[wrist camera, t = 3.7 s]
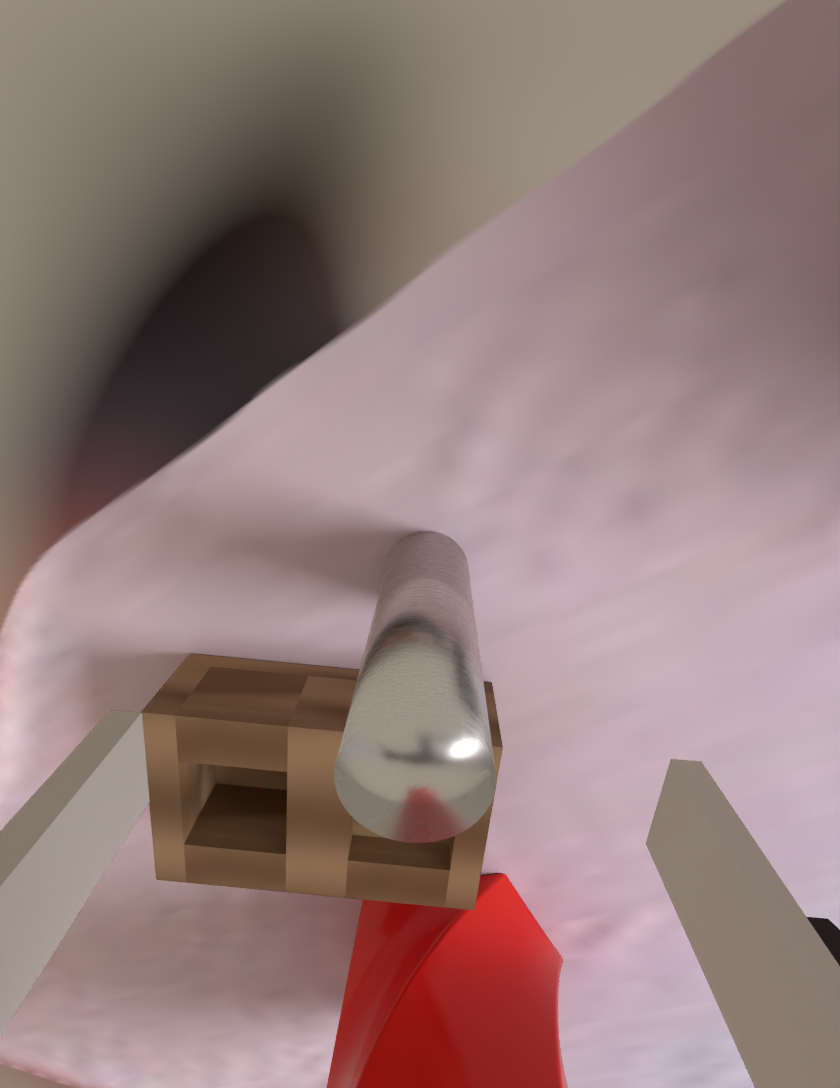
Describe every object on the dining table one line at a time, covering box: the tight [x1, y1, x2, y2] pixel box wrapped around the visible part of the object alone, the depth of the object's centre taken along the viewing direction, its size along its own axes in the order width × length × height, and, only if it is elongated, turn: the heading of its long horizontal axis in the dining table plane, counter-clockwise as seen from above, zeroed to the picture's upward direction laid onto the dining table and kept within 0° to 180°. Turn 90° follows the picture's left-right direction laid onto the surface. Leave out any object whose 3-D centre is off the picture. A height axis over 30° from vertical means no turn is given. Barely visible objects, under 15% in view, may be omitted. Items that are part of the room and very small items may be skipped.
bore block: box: [141, 654, 503, 910], centre depth 28 cm, size 10×16×5 cm, turn 85°
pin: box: [334, 532, 496, 843], centre depth 20 cm, size 4×4×14 cm
